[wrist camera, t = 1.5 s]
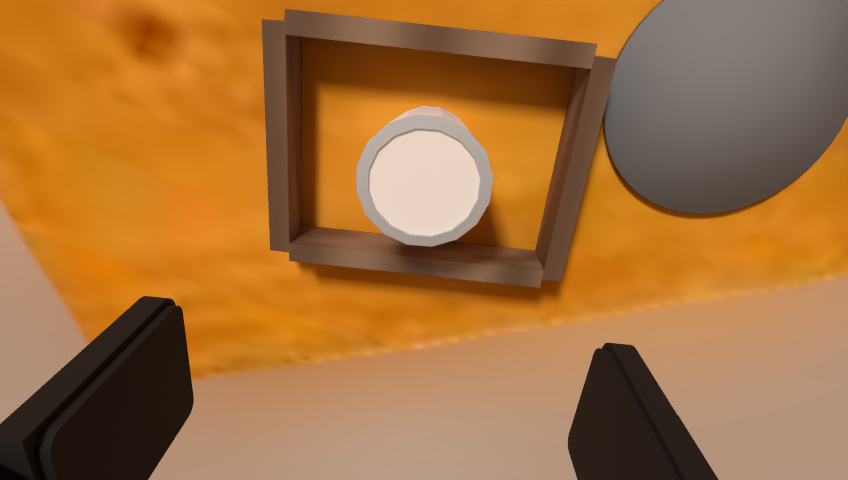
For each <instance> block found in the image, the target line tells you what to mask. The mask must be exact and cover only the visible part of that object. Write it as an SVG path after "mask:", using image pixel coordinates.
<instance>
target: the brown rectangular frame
mask: <svg viewBox="0 0 848 480" xmlns="http://www.w3.org/2000/svg"><path fill="white" fill-rule="evenodd" d="M301 36H302V37H311V38H320V39H329V40H338V41H347V42H355V43H364V44H373V45H382V46H391V47H400V48H409V49H418V50H427V51H436V52H445V53H454V54H463V55H471V56H480V57H489V58H498V59H507V60H516V61H525V62H534V63H543V64H552V65H561V66H570V67H576V70H575V75H574V79H573V84H572V88H571V93H570V97H569V102H568V106H567V111H566V115H565V120H564V124H563V129H562V133H561V138H560V142H559V147H558V151H557V156H556V160H555V165H554V169H553V174H552V178H551V183H550V187H549V192H548V196H547V201H546V205H545V210H544V214H543V219H542V223H541V228H540V232H539V237H538V241H537V246H536V250H535V251H533V250H524V249H515V248H506V247H496V246H487V245H478V244H469V243H460V242H451V241H450V242H447V243H443V244H440V245H436V246H433V247H431V246H418V245H407V244H405V243H402V242H400V241H398V240H396V239H394V238H392V237H390V236H387V235H385V234H378V233H368V232H359V231H350V230H341V229H332V228H323V227H314V226H305V225H302V58H301ZM262 38H263V66H264V93H265V120H266V147H267V174H268V201H269V228H270V250H273V251H283V252H289V261H297V262H306V263H315V264H324V265H334V266H343V267H352V268H361V269H370V270H379V271H389V272H398V273H407V274H416V275H425V276H435V277H444V278H453V279H462V280H471V281H480V282H490V283H499V284H508V285H517V286H526V287H535V288H540V286H541V281H542V280H549V281H558V282H561V279H562V275H563V271H564V267H565V263H566V259H567V255H568V251H569V247H570V244H571V240H572V236H573V232H574V228H575V224H576V220H577V216H578V212H579V208H580V204H581V200H582V197H583V193H584V189H585V185H586V181H587V177H588V173H589V169H590V165H591V161H592V157H593V153H594V150H595V146H596V142H597V138H598V134H599V130H600V126H601V122H602V118H603V114H604V110H605V106H606V102H607V99H608V95H609V91H610V87H611V83H612V79H613V75H614V71H615V67H616V63H617V59H613V58H608V57H602V56H595V52H596V48H597V44H592V43H583V42H574V41H565V40H556V39H547V38H539V37H530V36H521V35H512V34H503V33H494V32H485V31H476V30H467V29H459V28H450V27H441V26H432V25H423V24H414V23H405V22H396V21H387V20H378V19H370V18H361V17H352V16H343V15H334V14H325V13H316V12H307V11H298V10H289V9H285V21H282V20H265V19H262Z"/></svg>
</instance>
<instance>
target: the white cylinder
mask: <svg viewBox="0 0 848 480" xmlns="http://www.w3.org/2000/svg"><path fill="white" fill-rule="evenodd" d="M492 182H493V174H492V171H491V167H490V164H489V160H488V157H487V153H486V151H485V149H484V148H483V147H482V146H481V144H480V143H479V142H478V141H477V140H476V138H475V137H474V136H473V135H472V134H471V132H470V131H469V130H468V129H467V127H466V126H465V125H464V124H463V123H462V121H461V120H460V119H459V118H458V117H457V116H456V115H454V114H453V113H451V112H449V111H447V110H445V109H443V108H441V107H430V106H421V107H418V108H415V109H412V110H409V111H406V112H404V113H403V114H401V115H400V116H398V117H397V118H395V119H394V120H392V121H391V122H389V123H388V124H387V125H386V126H385V127H383V128H382V129H381V130H380V131H379V132H378V133H377V134H376V135H375V136H373V137H372V138H371V139H370V140H369V141H368V142H367V144H366V146H365V149H364V151H363V153H362V155H361V158H360V160H359V162H358V164H357V186H356V192H357V195H358V197H359V199H360V202H361V204H362V207H363V209H364V212H365V214H366V216H367V217H368V218H369V219H370V220H371V221H372V222H373V223H374V224H375V225H376V226H377V227H378V228H379V229H380V230H381V231H382V232H383V233H384V234H385V235H387V236H390V237H392V238H394V239H396V240H398V241H400V242H402V243H405V244H407V245H418V246H431V247H433V246H436V245H440V244H443V243H447V242H450V241H453V240H457V239H458V238H459V237H461V236H462V235H463V234H465V233H466V232H467V231H469V230H470V229H471V228H473V227H474V226H475V225H477V223H478V221H479V220H480V218H481V216H482V215H483V213H484V211H485V210H486V208H487V206H488V205H489V203H490V197H491V190H492Z"/></svg>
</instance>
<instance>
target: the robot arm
mask: <svg viewBox="0 0 848 480" xmlns="http://www.w3.org/2000/svg"><path fill="white" fill-rule="evenodd" d="M193 401H194V400H193V390H192V382H191V374H190V366H189V358H188V350H187V342H186V334H185V327H184V319H183V312H182V309H181V307H180V306H176V305H175V302H174V301H173V300H172V299H169V298H160V297H150V296H144V297H142V298H140V299H139V300H138V301H137V302H135V303H134V304H133V305H132V306H131V307H130V308H129V309H128V310H127V311H125V312H124V313H123V314H122V315H121V316H120V317H119V318H118V319H117V320H115V321H114V322H113V323H112V324H111V325H110V326H109V327H108V328H107V329H105V330H104V331H103V332H102V333H101V334H100V335H99V336H98V337H97V338H95V339H94V340H93V341H92V342H91V343H90V344H89V345H88V346H87V347H85V348H84V349H83V350H82V351H81V352H80V353H79V354H78V355H77V356H75V357H74V358H73V359H72V360H71V361H70V362H69V363H68V364H67V365H65V366H64V367H63V368H62V369H61V370H60V371H59V372H58V373H57V374H55V375H54V376H53V377H52V378H51V379H50V380H49V381H48V382H47V383H45V384H44V385H43V386H42V387H41V388H40V389H39V390H38V391H37V392H35V393H34V394H33V395H32V396H31V397H30V398H29V399H28V400H26V402H24V403H23V404H22V405H21V406H20V407H19V408H18V409H17V410H15V411H14V412H13V413H12V414H11V415H10V416H9V417H8V418H6V419H5V420H4V421H3V422H2V423H1V424H0V480H148V479H149V477H150V476H151V474H152V473H153V471H154V469H155V468H156V466H157V465H158V463H159V462H160V460H161V459H162V457H163V456H164V454H165V452H166V451H167V449H168V448H169V446H170V445H171V443H172V442H173V440H174V438H175V437H176V435H177V434H178V432H179V431H180V429H181V428H182V426H183V425H184V423H185V421H186V420H187V418H188V417H189V415H190V413H191V410H192V407H193ZM568 449H569V453H570V457H571V460H572V463H573V466H574V469H575V473H576V476H577V479H578V480H718V478H717V477H716V475H715V474H714V472H713V470H712V469H711V467H710V466H709V464H708V463H707V461H706V459H705V458H704V456H703V454H702V453H701V451H700V449H699V448H698V446H697V445H696V443H695V441H694V440H693V438H692V437H691V435H690V434H689V432H688V430H687V429H686V427H685V426H684V424H683V422H682V421H681V419H680V418H679V416H678V415H677V414H676V412H675V410H674V409H673V407H672V406H671V404H670V402H669V401H668V399H667V398H666V396H665V394H664V393H663V391H662V390H661V388H660V387H659V385H658V383H657V382H656V380H655V379H654V377H653V375H652V374H651V372H650V371H649V369H648V367H647V366H646V364H645V363H644V361H643V359H642V358H641V356H640V355H639V353H638V351H637V350H636V348H635V347H634V346H632V345H625V344H615V343H606V344H604V346H603V347H602V349H600V348H598V349H596V350H595V352H594V355H593V358H592V361H591V365H590V368H589V371H588V374H587V378H586V381H585V384H584V387H583V390H582V394H581V397H580V400H579V403H578V407H577V410H576V413H575V417H574V420H573V423H572V427H571V429H570V433H569V437H568Z"/></svg>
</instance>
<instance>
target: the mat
mask: <svg viewBox="0 0 848 480" xmlns="http://www.w3.org/2000/svg"><path fill="white" fill-rule="evenodd" d="M847 116H848V3H847V2H846V0H663V1H662V2H660V3H659V4H658V5H657V6H656V7H655V8H654V9H652V10H651V12H650V13H649V14H648V15H647V16H646V17H645V18H644V19H643V20H642V21H641V22H640V23H639V25H638V26H637V27H636V29H635V30H634V31H633V33H632V34H631V35H630V37H629V38H628V40H627V41H626V43H625V45H624V46H623V48H622V50H621V51H620V53H619V55H618V57H617V63H616V67H615V71H614V75H613V79H612V83H611V87H610V91H609V95H608V99H607V102H606V106H605V110H604V114H603V132H604V137H605V142H606V147H607V149H608V152H609V155H610V157H611V160H612V162H613V164H614V165H615V167H616V169H617V171H618V172H619V174H620V175H621V176H622V177H623V179H624V180H625V181H626V182H627V183H628V184H629V185H630V186H631V187H632V188H633V189H634V190H635V191H636V192H637V193H639V194H640V195H642V196H643V197H645V198H646V199H647V200H649V201H651V202H653V203H655V204H657V205H659V206H661V207H664V208H667V209H670V210H673V211H678V212H683V213H690V214H712V213H721V212H726V211H732V210H736V209H739V208H742V207H746V206H749V205H751V204H754V203H756V202H759V201H761V200H763V199H765V198H767V197H769V196H771V195H773V194H775V193H777V192H778V191H780V190H781V189H783V188H784V187H786V186H787V185H789V184H790V183H792V182H793V181H794V180H796V179H797V178H798V177H799V176H801V175H802V174H803V173H804V172H806V171H807V170H808V169H809V168H810V167H811V166H812V165H813V164H814V163H815V162H816V161H817V160H818V159H819V158H820V156H821V155H822V154H823V153H824V152H825V151H826V149H827V148H828V147H829V146H830V144H831V143H832V141H833V140H834V139H835V137H836V136H837V134H838V133H839V131H840V130H841V128H842V126H843V124H844V122H845V120H846V118H847Z"/></svg>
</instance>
